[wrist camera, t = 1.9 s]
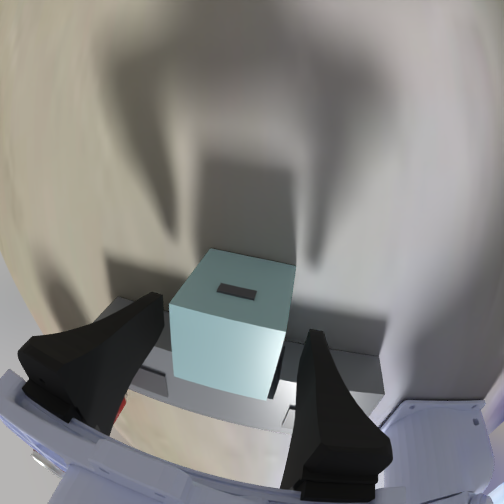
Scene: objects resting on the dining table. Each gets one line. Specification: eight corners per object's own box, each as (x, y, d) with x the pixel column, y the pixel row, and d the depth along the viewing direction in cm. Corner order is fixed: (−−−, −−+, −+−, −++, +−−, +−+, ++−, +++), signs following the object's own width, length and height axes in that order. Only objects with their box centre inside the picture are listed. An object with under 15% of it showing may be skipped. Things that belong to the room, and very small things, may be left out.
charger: (296, 264, 15) (286, 329, 10) (273, 358, 18) (258, 424, 14) (210, 246, 16) (169, 301, 11) (205, 342, 19) (176, 401, 14)
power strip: (378, 356, 17) (386, 405, 13) (347, 407, 20) (347, 451, 16) (117, 296, 19) (85, 330, 15) (128, 354, 22) (105, 387, 18)
